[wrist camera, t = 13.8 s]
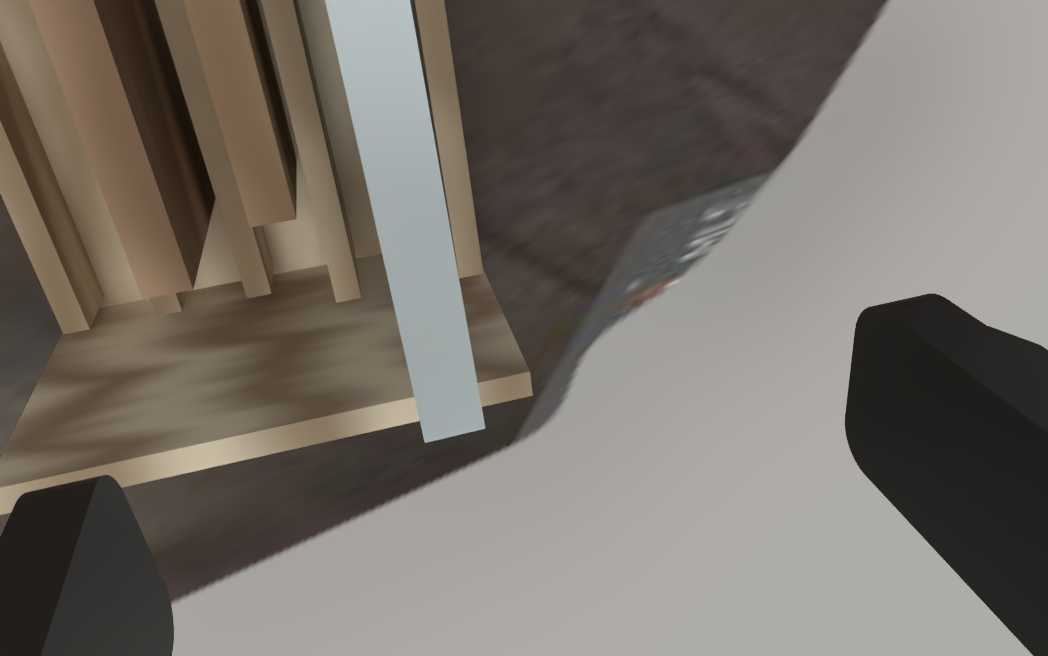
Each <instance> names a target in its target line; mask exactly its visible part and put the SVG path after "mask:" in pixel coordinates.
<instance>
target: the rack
mask: <svg viewBox="0 0 1048 656" xmlns="http://www.w3.org/2000/svg"><path fill="white" fill-rule="evenodd" d="M257 3H258V7H259V11H260V15H261V19H262V23H263V27H264V31H265V35H266V39H267V43H268V47H269V51H270V55H271V59H272V63H273V67H274V71H275V75H276V79H277V83H278V87H279V91H280V95H281V99H282V103H283V106H284V110H285V114H286V118H287V122H288V126H289V130H290V134H291V138H292V142H293V146H294V150H295V154H296V158H297V196H296V219H295V220H289V221H284V222H279V223H273V224H268V225H262V226H257V227H251V228H250V226H249V223H248V220H247V216H246V213H245V209H244V206H243V203H242V199H241V196H240V192H239V189H238V186H237V182H236V179H235V175H234V172H233V169H232V165H231V162H230V158H229V155H228V152H227V148H226V145H225V141H224V138H223V135H222V131H221V128H220V124H219V121H218V118H217V114H216V111H215V107H214V104H213V101H212V97H211V94H210V90H209V87H208V84H207V80H206V77H205V73H204V70H203V67H202V63H201V60H200V56H199V53H198V50H197V46H196V43H195V39H194V36H193V32H192V29H191V26H190V22H189V19H188V15H187V12H186V9H185V5H184V2H183V0H155V4H156V7H157V10H158V13H159V16H160V20H161V23H162V26H163V29H164V33H165V36H166V39H167V42H168V45H169V49H170V52H171V55H172V58H173V62H174V65H175V68H176V71H177V74H178V78H179V81H180V84H181V87H182V91H183V94H184V97H185V100H186V103H187V107H188V110H189V113H190V116H191V120H192V123H193V126H194V129H195V132H196V136H197V139H198V142H199V145H200V149H201V152H202V155H203V158H204V161H205V165H206V168H207V171H208V174H209V178H210V181H211V184H212V187H213V191H214V194H215V197H216V199H215V203H214V207H213V211H212V215H211V219H210V223H209V227H208V231H207V235H206V240H205V244H204V248H203V252H202V256H201V260H200V264H199V268H198V272H197V276H196V281H195V285H194V289H193V290H189V291H184V292H179V293H173V294H168V295H163V296H158V297H153V298H147V299H143V298H142V296H141V293H140V291H139V288H138V285H137V283H136V280H135V278H134V275H133V272H132V270H131V267H130V264H129V262H128V259H127V257H126V254H125V251H124V249H123V246H122V244H121V241H120V238H119V236H118V233H117V231H116V228H115V225H114V223H113V220H112V217H111V215H110V212H109V210H108V207H107V204H106V202H105V199H104V197H103V194H102V191H101V189H100V186H99V183H98V181H97V178H96V176H95V173H94V170H93V168H92V165H91V163H90V160H89V157H88V155H87V152H86V150H85V147H84V144H83V142H82V139H81V136H80V134H79V131H78V129H77V126H76V123H75V121H74V118H73V116H72V113H71V110H70V108H69V105H68V103H67V100H66V97H65V95H64V92H63V89H62V87H61V84H60V82H59V79H58V76H57V74H56V71H55V69H54V66H53V63H52V61H51V58H50V56H49V53H48V50H47V48H46V45H45V42H44V40H43V37H42V35H41V32H40V29H39V27H38V24H37V22H36V19H35V16H34V14H33V11H32V9H31V6H30V3H29V1H28V0H0V194H1V196H2V198H3V201H4V203H5V205H6V207H7V210H8V212H9V214H10V216H11V218H12V221H13V223H14V225H15V227H16V230H17V232H18V234H19V236H20V239H21V241H22V243H23V245H24V247H25V250H26V252H27V254H28V256H29V259H30V261H31V263H32V265H33V267H34V270H35V272H36V274H37V276H38V279H39V281H40V283H41V285H42V288H43V290H44V292H45V294H46V296H47V299H48V301H49V303H50V305H51V308H52V310H53V312H54V314H55V316H56V319H57V321H58V323H59V325H60V328H61V330H62V332H63V333H62V335H61V337H60V339H59V341H58V343H57V345H56V347H55V349H54V351H53V353H52V355H51V357H50V359H49V361H48V363H47V365H46V367H45V369H44V371H43V373H42V375H41V377H40V379H39V381H38V383H37V385H36V387H35V389H34V391H33V393H32V395H31V397H30V399H29V401H28V403H27V405H26V407H25V409H24V411H23V413H22V415H21V417H20V419H19V421H18V423H17V425H16V427H15V429H14V431H13V433H12V435H11V437H10V439H9V441H8V443H7V445H6V447H5V449H4V451H3V453H2V455H1V457H0V515H1V514H6V513H10V512H12V510H13V507H14V505H15V503H16V501H17V500H18V498H19V497H20V496H21V495H22V494H24V493H26V492H30V491H35V490H39V489H44V488H48V487H53V486H57V485H62V484H66V483H71V482H75V481H80V480H84V479H89V478H93V477H98V476H102V475H110V476H111V477H113V478H114V479H115V480H116V481H117V482H118V484H119V485H120V487H121V488H122V487H126V486H131V485H135V484H140V483H144V482H149V481H153V480H158V479H162V478H166V477H171V476H175V475H180V474H184V473H189V472H193V471H198V470H202V469H207V468H211V467H216V466H220V465H225V464H229V463H233V462H238V461H242V460H247V459H251V458H256V457H260V456H265V455H269V454H274V453H278V452H283V451H287V450H292V449H296V448H300V447H305V446H309V445H314V444H318V443H323V442H327V441H332V440H336V439H341V438H345V437H350V436H354V435H359V434H363V433H367V432H372V431H376V430H381V429H385V428H390V427H394V426H399V425H403V424H408V423H412V422H417V421H420V419H419V415H418V410H417V406H416V402H415V397H414V393H413V388H412V384H411V379H410V375H409V371H408V366H407V362H406V357H405V353H404V348H403V344H402V340H401V335H400V331H399V326H398V322H397V317H396V313H395V308H394V304H393V300H392V295H391V291H390V286H389V282H388V277H387V273H386V269H385V264H384V260H383V255H382V251H381V246H380V242H379V237H378V233H377V229H376V224H375V220H374V215H373V211H372V206H371V202H370V198H369V193H368V189H367V184H366V180H365V175H364V171H363V166H362V162H361V158H360V153H359V149H358V144H357V140H356V135H355V131H354V127H353V122H352V118H351V113H350V109H349V104H348V100H347V95H346V91H345V87H344V82H343V78H342V73H341V69H340V64H339V60H338V56H337V51H336V47H335V42H334V38H333V33H332V29H331V25H330V20H329V16H328V11H327V7H326V2H325V0H257ZM410 4H411V9H412V15H413V21H414V26H415V32H416V38H417V43H418V49H419V55H420V60H421V66H422V72H423V77H424V83H425V89H426V94H427V100H428V106H429V111H430V117H431V123H432V128H433V134H434V140H435V145H436V151H437V157H438V162H439V168H440V174H441V179H442V185H443V191H444V196H445V202H446V208H447V214H448V219H449V225H450V231H451V236H452V242H453V248H454V253H455V259H456V265H457V270H458V276H459V282H460V287H461V293H462V299H463V304H464V310H465V316H466V321H467V327H468V333H469V338H470V344H471V350H472V355H473V361H474V367H475V372H476V378H477V384H478V389H479V395H480V401H481V406H482V407H484V406H488V405H493V404H497V403H501V402H506V401H510V400H515V399H519V398H524V397H528V396H533V394H532V385H531V377H530V371H529V369H528V366H527V364H526V362H525V360H524V358H523V355H522V353H521V351H520V349H519V347H518V344H517V342H516V340H515V338H514V336H513V333H512V331H511V329H510V327H509V325H508V323H507V320H506V318H505V316H504V314H503V312H502V309H501V307H500V305H499V303H498V301H497V298H496V296H495V294H494V292H493V290H492V287H491V285H490V283H489V281H488V279H487V276H486V274H485V272H484V270H483V267H482V260H481V253H480V246H479V240H478V233H477V226H476V219H475V212H474V205H473V198H472V191H471V184H470V177H469V170H468V163H467V156H466V149H465V142H464V135H463V128H462V121H461V114H460V107H459V100H458V93H457V86H456V79H455V72H454V65H453V58H452V51H451V44H450V38H449V31H448V24H447V17H446V10H445V3H444V0H410Z"/></svg>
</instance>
